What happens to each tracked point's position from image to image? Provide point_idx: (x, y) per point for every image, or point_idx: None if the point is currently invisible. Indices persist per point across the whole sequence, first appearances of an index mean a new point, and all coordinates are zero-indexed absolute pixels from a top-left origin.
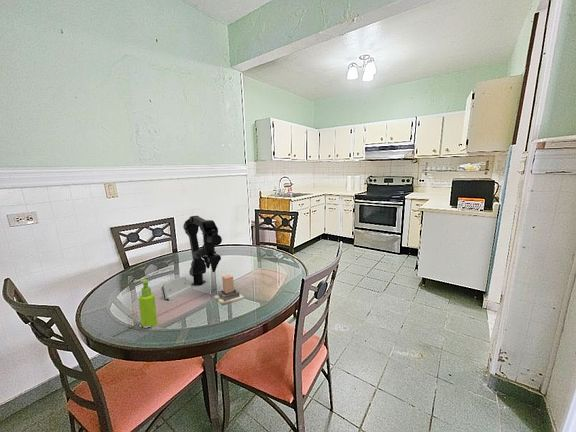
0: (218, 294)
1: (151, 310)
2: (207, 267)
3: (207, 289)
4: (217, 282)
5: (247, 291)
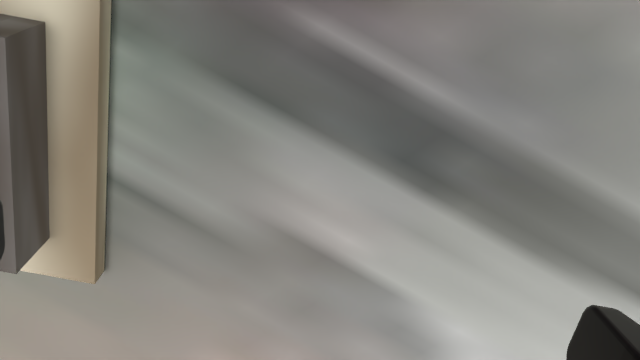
0: (25, 25)
1: None
2: (598, 331)
3: (513, 76)
4: None
5: (7, 356)
